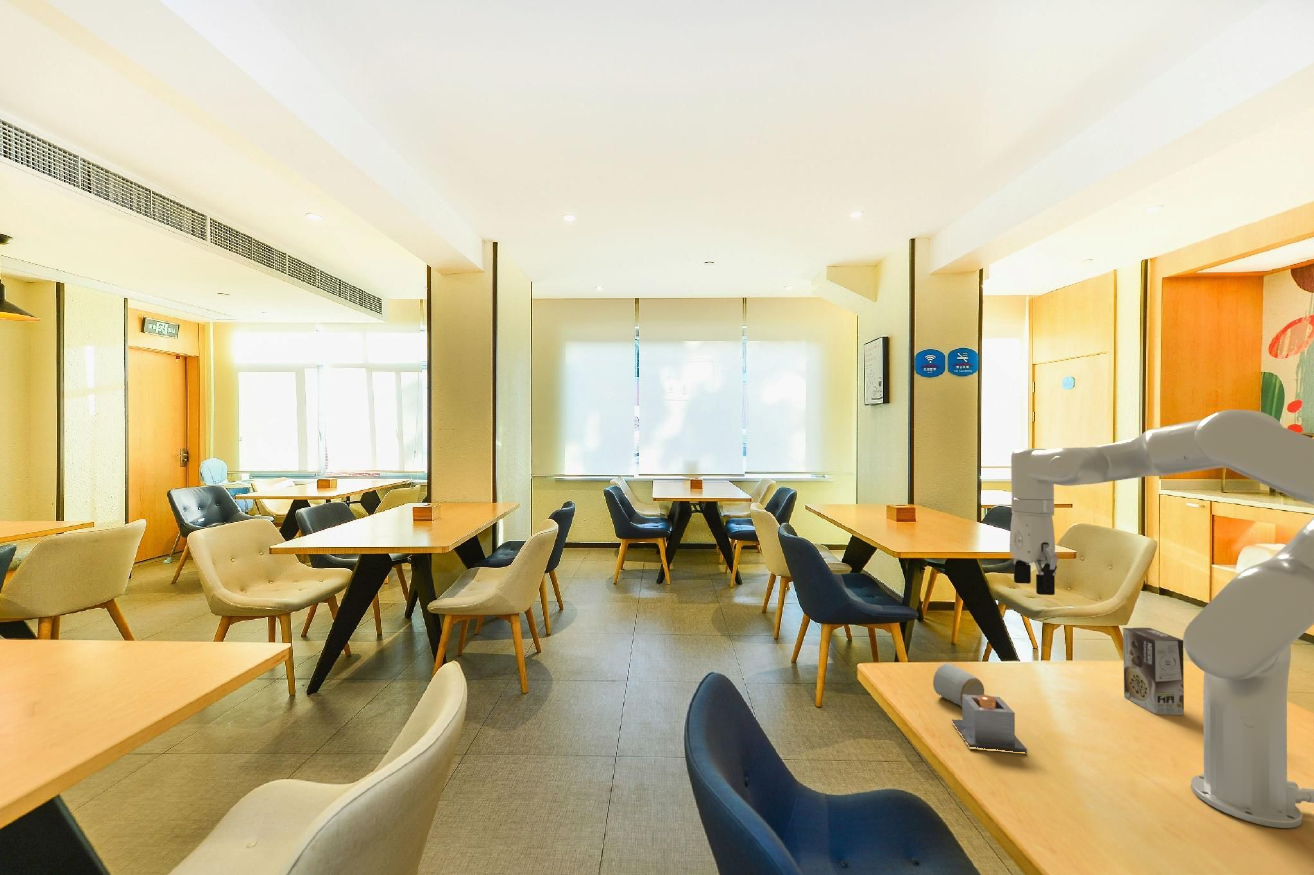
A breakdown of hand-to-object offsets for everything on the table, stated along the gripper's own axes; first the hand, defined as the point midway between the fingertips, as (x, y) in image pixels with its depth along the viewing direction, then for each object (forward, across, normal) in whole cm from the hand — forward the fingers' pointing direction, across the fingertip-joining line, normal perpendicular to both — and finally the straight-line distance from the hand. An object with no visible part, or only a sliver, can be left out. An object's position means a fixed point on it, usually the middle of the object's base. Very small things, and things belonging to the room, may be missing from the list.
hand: (1033, 588), depth 121 cm
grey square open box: (+27, +9, -13) cm, 31 cm away
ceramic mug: (+28, -8, -12) cm, 31 cm away
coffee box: (+28, -12, +30) cm, 43 cm away
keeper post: (+28, +9, -13) cm, 32 cm away
